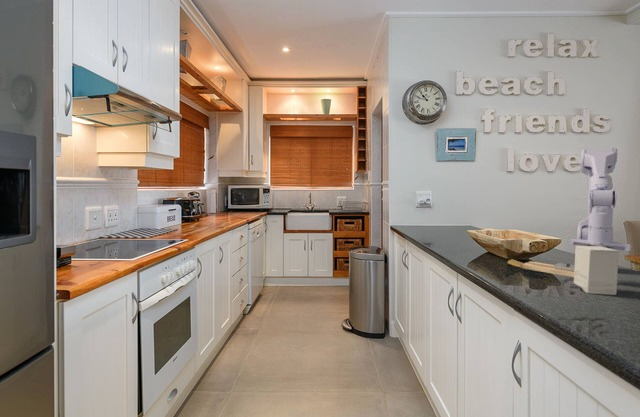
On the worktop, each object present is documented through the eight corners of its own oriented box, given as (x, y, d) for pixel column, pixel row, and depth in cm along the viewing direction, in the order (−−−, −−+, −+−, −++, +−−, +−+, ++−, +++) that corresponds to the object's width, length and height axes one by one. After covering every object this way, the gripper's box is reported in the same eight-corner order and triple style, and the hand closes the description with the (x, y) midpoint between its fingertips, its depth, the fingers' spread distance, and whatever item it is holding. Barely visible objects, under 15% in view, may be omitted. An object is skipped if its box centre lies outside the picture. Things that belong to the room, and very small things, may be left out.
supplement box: (617, 295, 91) (620, 250, 90) (587, 293, 92) (589, 249, 92) (600, 287, 98) (602, 245, 97) (572, 286, 100) (574, 245, 99)
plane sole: (526, 267, 123) (526, 260, 122) (583, 277, 109) (584, 269, 109) (519, 270, 118) (519, 263, 118) (578, 280, 105) (578, 273, 105)
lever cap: (558, 265, 114) (558, 261, 114) (579, 269, 109) (580, 264, 109) (553, 267, 111) (554, 263, 111) (575, 271, 106) (576, 266, 106)
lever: (525, 266, 121) (511, 261, 125) (526, 264, 121) (512, 259, 125) (521, 268, 119) (507, 263, 122) (522, 265, 119) (508, 260, 122)
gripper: (568, 226, 106) (566, 267, 107) (629, 231, 95) (626, 277, 96) (574, 224, 110) (572, 264, 111) (633, 229, 99) (630, 273, 100)
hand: (597, 270), depth 104 cm, fingers closed
